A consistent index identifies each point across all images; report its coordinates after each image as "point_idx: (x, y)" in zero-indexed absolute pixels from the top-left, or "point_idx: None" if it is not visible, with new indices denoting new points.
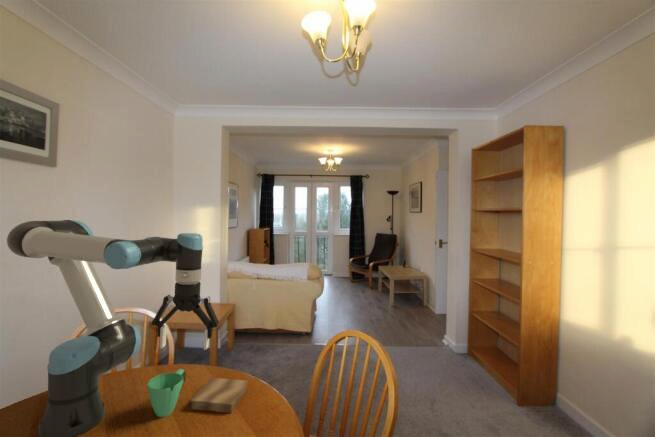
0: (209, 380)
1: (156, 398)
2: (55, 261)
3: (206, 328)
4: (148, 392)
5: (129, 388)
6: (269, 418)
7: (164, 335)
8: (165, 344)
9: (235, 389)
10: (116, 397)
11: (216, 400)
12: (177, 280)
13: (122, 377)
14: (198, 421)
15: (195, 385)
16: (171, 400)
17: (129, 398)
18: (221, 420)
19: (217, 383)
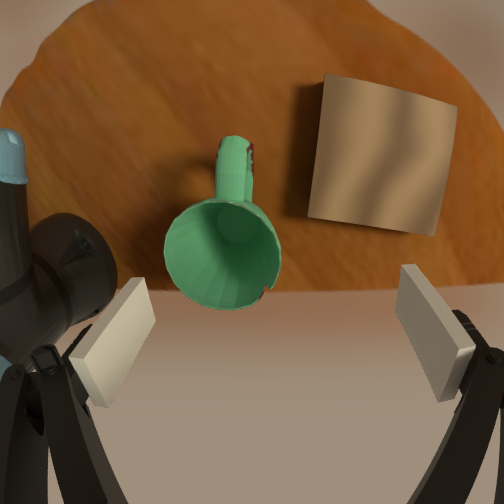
0: (327, 94)
1: (225, 288)
2: None
3: (450, 386)
4: (185, 268)
5: (81, 126)
6: (497, 244)
7: (123, 340)
8: (143, 284)
9: (431, 157)
10: (79, 170)
11: (389, 218)
12: None
13: (40, 85)
14: (347, 257)
15: (266, 78)
16: (264, 264)
17: (109, 169)
18: (402, 252)
19: (364, 115)
